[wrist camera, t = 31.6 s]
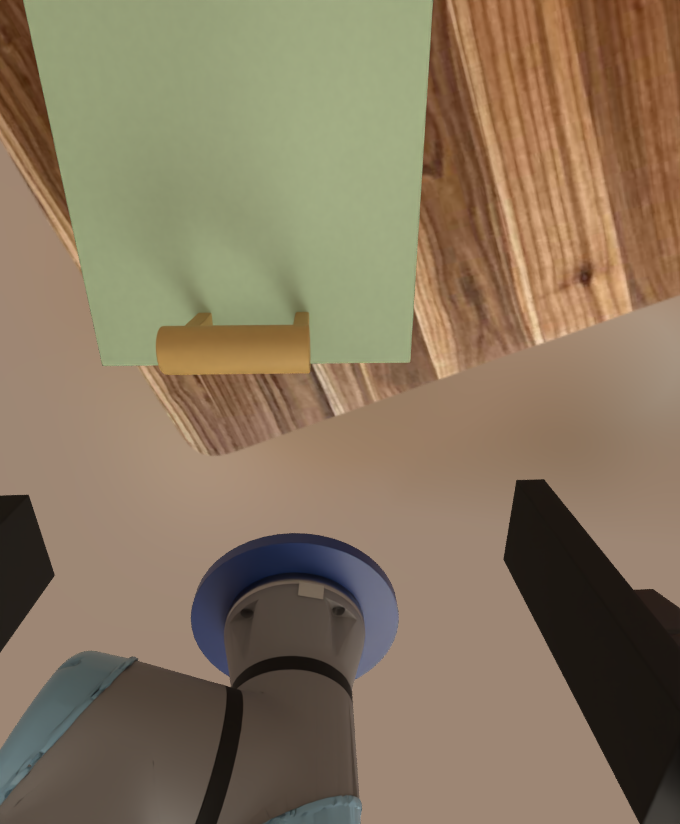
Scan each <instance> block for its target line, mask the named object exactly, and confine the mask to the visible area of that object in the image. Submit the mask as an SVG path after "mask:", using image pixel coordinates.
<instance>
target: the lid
mask: <svg viewBox="0 0 680 824" xmlns="http://www.w3.org/2000/svg"><path fill="white" fill-rule="evenodd" d="M23 2H24V6H25V11H26V16H27V20H28V25H29V30H30V34H31V39H32V43H33V48H34V53H35V57H36V62H37V66H38V71H39V76H40V80H41V85H42V90H43V94H44V99H45V103H46V108H47V113H48V117H49V122H50V127H51V131H52V136H53V140H54V145H55V150H56V154H57V159H58V163H59V168H60V173H61V177H62V182H63V187H64V191H65V196H66V200H67V205H68V210H69V214H70V219H71V223H72V228H73V233H74V237H75V242H76V247H77V251H78V256H79V260H80V265H81V270H82V274H83V279H84V284H85V288H86V293H87V297H88V302H89V306H90V311H91V316H92V320H93V325H94V329H95V334H96V339H97V344H98V348H99V353H100V357H101V362H102V365H103V366H148V365H159V368H160V370H161V372H162V373H163V374H165V375H196V374H276V373H310V364H318V363H403V362H410V357H411V341H412V325H413V310H414V294H415V278H416V262H417V246H418V230H419V214H420V198H421V182H422V166H423V151H424V135H425V119H426V103H427V87H428V71H429V55H430V39H431V23H432V7H433V0H23Z"/></svg>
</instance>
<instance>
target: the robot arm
mask: <svg viewBox="0 0 680 824" xmlns="http://www.w3.org/2000/svg"><path fill="white" fill-rule="evenodd" d="M504 561H505V563H506V565H507V567H508V569H509V571H510V573H511V575H512V577H513V579H514V581H515V583H516V585H517V587H518V589H519V591H520V593H521V594H522V596H523V598H524V600H525V602H526V604H527V606H528V608H529V610H530V612H531V614H532V616H533V618H534V620H535V622H536V623H537V625H538V627H539V629H540V631H541V633H542V635H543V637H544V639H545V641H546V643H547V645H548V647H549V649H550V651H551V652H552V655H553V657H554V658H555V660H556V662H557V664H558V666H559V668H560V670H561V672H562V674H563V676H564V678H565V680H566V682H567V684H568V686H569V688H570V690H571V691H572V693H573V695H574V697H575V699H576V701H577V703H578V705H579V707H580V709H581V711H582V713H583V715H584V717H585V719H586V721H587V723H588V724H589V726H590V728H591V730H592V732H593V734H594V736H595V738H596V740H597V742H598V744H599V746H600V748H601V750H602V752H603V754H604V756H605V757H606V759H607V761H608V763H609V765H610V767H611V769H612V771H613V773H614V775H615V777H616V779H617V781H618V783H619V784H620V787H621V789H622V790H623V792H624V794H625V796H626V798H627V800H628V802H629V804H630V806H631V808H632V810H633V812H634V813H635V815H636V817H637V820H638V821H639V823H640V824H680V608H679V607H677V606H676V605H675V604H673V603H672V602H670V601H669V600H667V599H666V598H665V597H663V596H662V595H661V594H659V593H658V592H656V591H655V590H653V589H645V590H633V589H632V588H631V586H630V585H629V584H628V583H627V581H625V579H624V578H623V577H622V575H621V574H620V573H619V571H618V570H617V569H616V568H615V567H614V565H613V564H612V563H611V562H610V561H609V559H608V558H607V557H606V556H605V554H604V553H603V552H602V550H601V549H600V548H599V547H598V546H597V545H596V543H595V542H594V541H593V539H592V538H591V537H590V536H589V534H588V533H587V532H586V531H585V529H584V528H583V527H582V526H581V525H580V523H579V522H578V521H577V520H576V518H575V517H574V516H573V515H572V513H571V512H570V511H569V510H568V508H567V507H566V506H565V505H564V504H563V502H562V501H561V500H560V499H559V498H558V496H557V495H556V494H555V492H554V491H553V490H552V489H551V488H550V486H549V485H548V484H547V483H546V482H545V480H544V479H541V480H517V481H516V487H515V493H514V499H513V505H512V511H511V517H510V523H509V529H508V535H507V541H506V547H505V554H504ZM53 577H54V572H53V568H52V565H51V562H50V559H49V556H48V553H47V550H46V547H45V544H44V541H43V538H42V535H41V532H40V529H39V525H38V522H37V519H36V516H35V513H34V510H33V507H32V504H31V501H30V498H29V495H6V496H0V652H1V651H2V649H3V648H4V646H5V645H6V643H7V642H8V641H9V639H10V638H11V637H12V635H13V634H14V632H15V631H16V629H17V628H18V627H19V625H20V624H21V622H22V621H23V620H24V618H25V617H26V615H27V614H28V613H29V611H30V609H31V608H32V607H33V605H34V604H35V603H36V601H37V600H38V598H39V597H40V596H41V594H42V593H43V591H44V590H45V588H46V587H47V586H48V584H49V583H50V581H51V580H52V579H53ZM364 640H365V624H364V616H363V612H362V609H361V607H360V604H359V603H358V601H357V600H356V598H355V597H354V596H353V595H352V594H351V593H350V592H349V591H348V590H347V589H346V588H344V587H343V586H341V585H340V584H338V583H336V582H335V581H333V580H330V579H328V578H325V577H322V576H318V575H314V574H308V573H283V574H277V575H272V576H269V577H266V578H263V579H261V580H258V581H256V582H254V583H252V584H251V585H249V586H248V587H246V588H245V589H244V590H243V591H241V592H240V593H239V594H238V596H237V597H236V598H235V599H234V601H233V602H232V604H231V606H230V608H229V611H228V614H227V619H226V623H225V628H224V644H225V651H226V657H227V663H228V670H229V676H230V683H231V687H228V686H225V685H221V684H218V683H214V682H210V681H206V680H203V679H199V678H196V677H192V676H189V675H185V674H181V673H178V672H175V671H171V670H168V669H164V668H161V667H157V666H153V665H150V664H147V663H143V662H139V661H138V658H136V657H130V658H124V657H119V656H115V655H110V654H106V653H101V652H97V651H85V652H81V653H78V654H76V655H74V656H73V657H71V658H70V659H68V660H67V661H66V662H65V663H63V664H62V665H61V666H60V667H59V668H58V670H57V671H56V672H55V673H54V674H53V675H52V677H51V678H50V679H49V680H48V682H47V683H46V684H45V686H44V687H43V688H42V689H41V691H40V692H39V694H38V695H37V696H36V698H35V699H34V700H33V702H32V703H31V705H30V706H29V707H28V709H27V710H26V712H25V713H24V714H23V716H22V717H21V719H20V721H19V722H18V723H17V725H16V726H15V728H14V729H13V731H12V733H11V734H10V735H9V737H8V739H7V740H6V742H5V743H4V745H3V746H2V748H1V749H0V824H360V815H361V811H362V804H361V801H360V799H359V786H358V774H357V758H356V744H355V729H354V715H353V701H352V687H353V683H354V680H355V676H356V673H357V669H358V665H359V662H360V658H361V654H362V651H363V647H364Z"/></svg>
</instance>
